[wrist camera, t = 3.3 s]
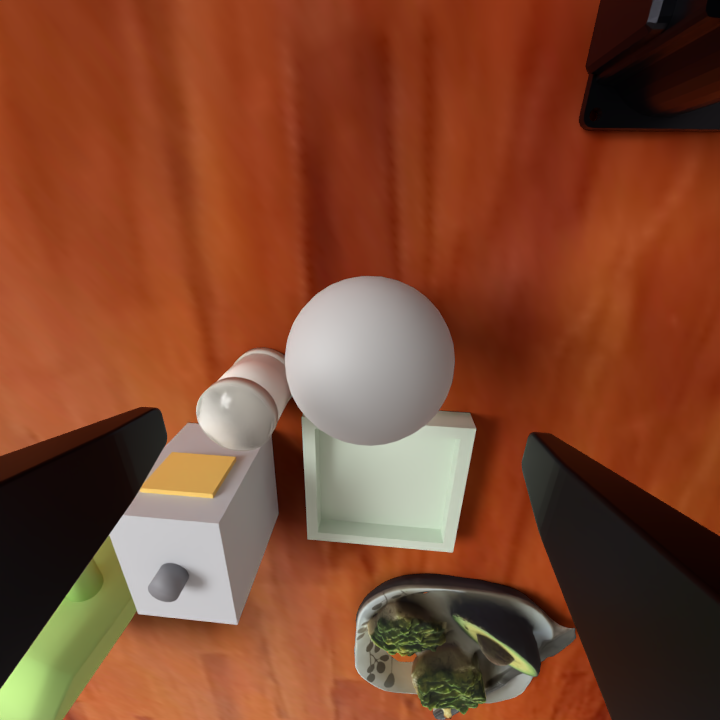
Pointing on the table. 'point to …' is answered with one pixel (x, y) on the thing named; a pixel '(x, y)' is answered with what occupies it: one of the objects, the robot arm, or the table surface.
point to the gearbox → (71, 643)
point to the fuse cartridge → (246, 401)
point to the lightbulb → (369, 360)
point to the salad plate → (453, 640)
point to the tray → (389, 485)
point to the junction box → (198, 529)
